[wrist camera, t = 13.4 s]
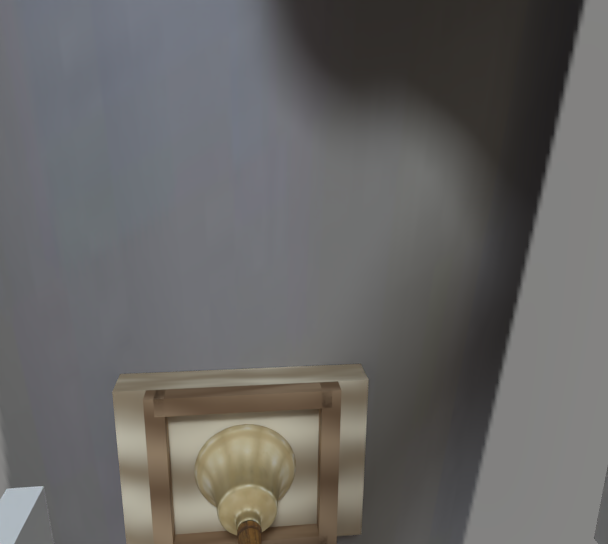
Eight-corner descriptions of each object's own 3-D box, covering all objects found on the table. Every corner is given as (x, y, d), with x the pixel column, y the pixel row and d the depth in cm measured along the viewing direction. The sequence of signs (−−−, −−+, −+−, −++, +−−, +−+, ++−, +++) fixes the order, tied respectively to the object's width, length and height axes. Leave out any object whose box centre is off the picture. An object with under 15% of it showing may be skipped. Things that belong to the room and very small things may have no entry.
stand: (120, 374, 45) (107, 401, 40) (360, 363, 47) (373, 388, 43) (133, 527, 49) (123, 567, 44) (354, 510, 51) (364, 547, 47)
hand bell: (289, 415, 44) (317, 573, 29) (301, 500, 47) (333, 688, 31) (186, 432, 43) (159, 603, 28) (203, 518, 46) (188, 718, 31)
